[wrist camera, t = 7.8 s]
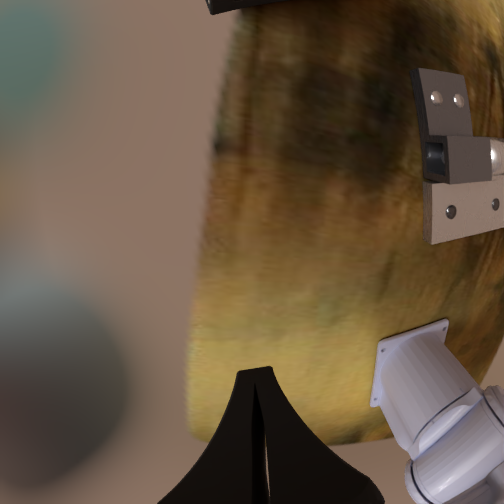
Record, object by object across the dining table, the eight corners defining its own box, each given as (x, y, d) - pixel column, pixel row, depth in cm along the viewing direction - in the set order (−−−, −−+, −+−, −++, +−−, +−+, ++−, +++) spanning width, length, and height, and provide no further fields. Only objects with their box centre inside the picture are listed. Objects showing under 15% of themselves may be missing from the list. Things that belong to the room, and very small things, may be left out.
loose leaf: (465, 174, 18) (491, 180, 15) (423, 177, 18) (450, 184, 15) (454, 77, 15) (480, 72, 12) (409, 70, 15) (434, 62, 12)
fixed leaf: (497, 223, 20) (519, 233, 17) (423, 239, 20) (446, 254, 17) (497, 137, 17) (522, 140, 14) (419, 134, 17) (445, 135, 14)
